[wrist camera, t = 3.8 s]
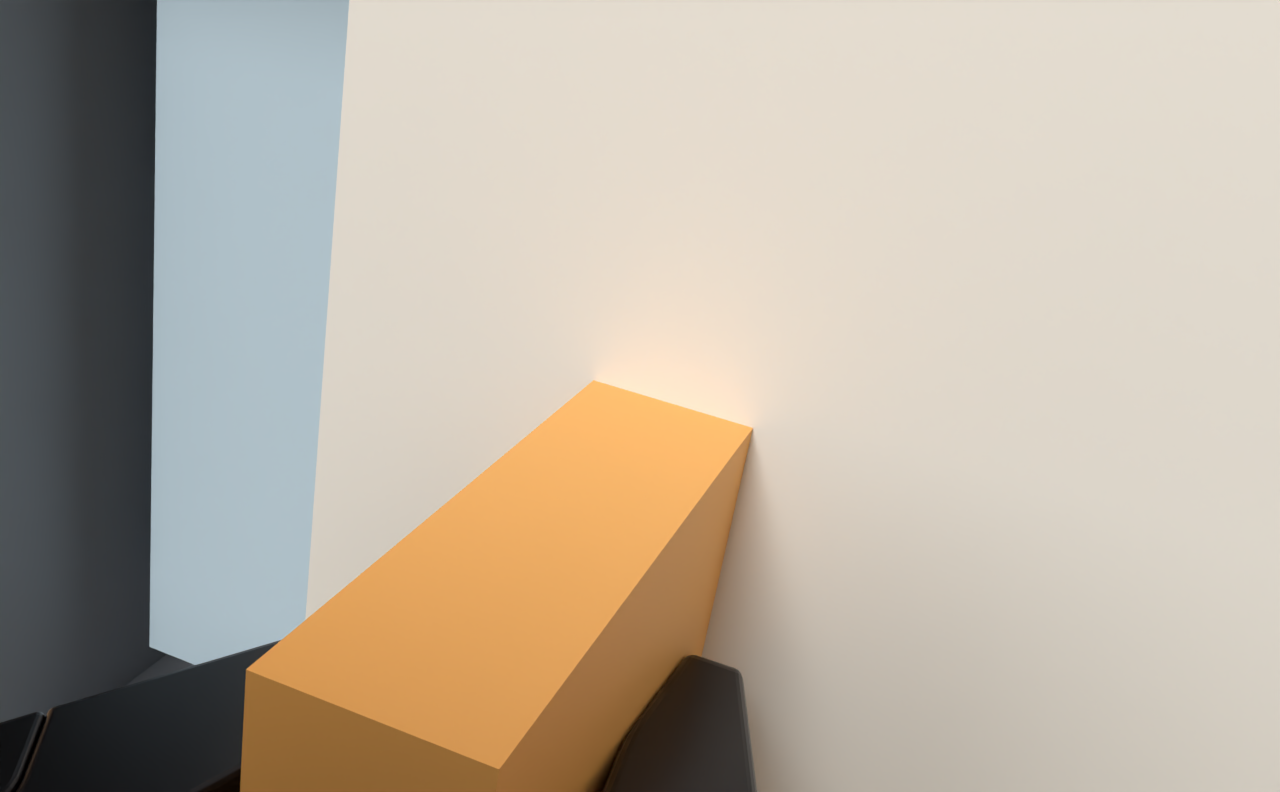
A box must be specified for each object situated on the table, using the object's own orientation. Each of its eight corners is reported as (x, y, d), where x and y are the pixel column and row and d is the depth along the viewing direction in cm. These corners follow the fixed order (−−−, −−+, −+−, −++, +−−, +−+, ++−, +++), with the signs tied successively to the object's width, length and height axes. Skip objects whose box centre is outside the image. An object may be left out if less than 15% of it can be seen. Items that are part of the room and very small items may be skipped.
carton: (778, 877, 17) (662, 1201, 13) (178, 641, 20) (-94, 841, 15) (1089, -240, 12) (1079, -360, 7) (201, -368, 14) (-214, -518, 10)
